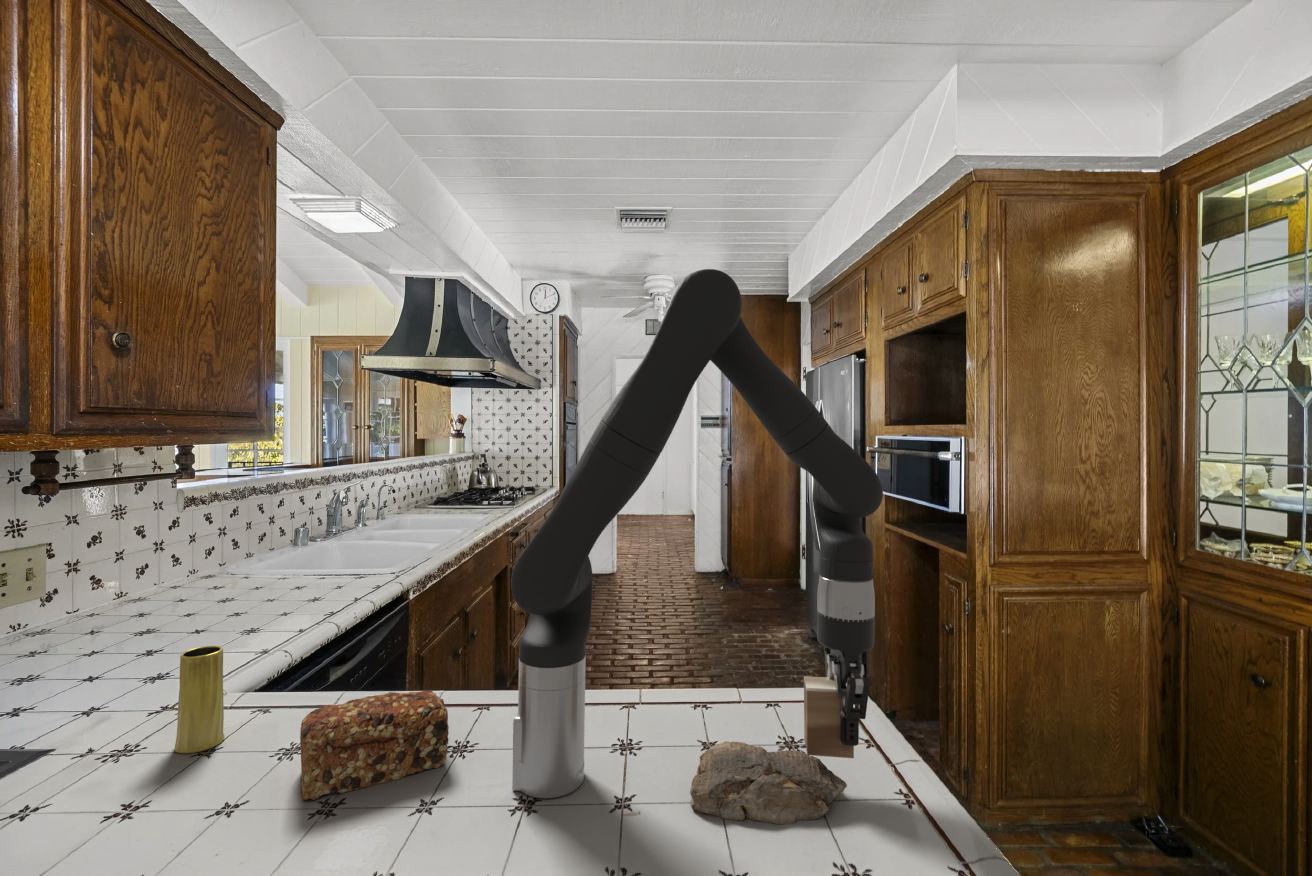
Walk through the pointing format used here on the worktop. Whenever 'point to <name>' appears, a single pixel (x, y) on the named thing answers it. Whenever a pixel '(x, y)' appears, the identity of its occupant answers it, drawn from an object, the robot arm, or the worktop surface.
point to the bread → (371, 741)
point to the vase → (200, 700)
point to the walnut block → (823, 719)
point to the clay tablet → (763, 784)
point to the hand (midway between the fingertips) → (844, 734)
